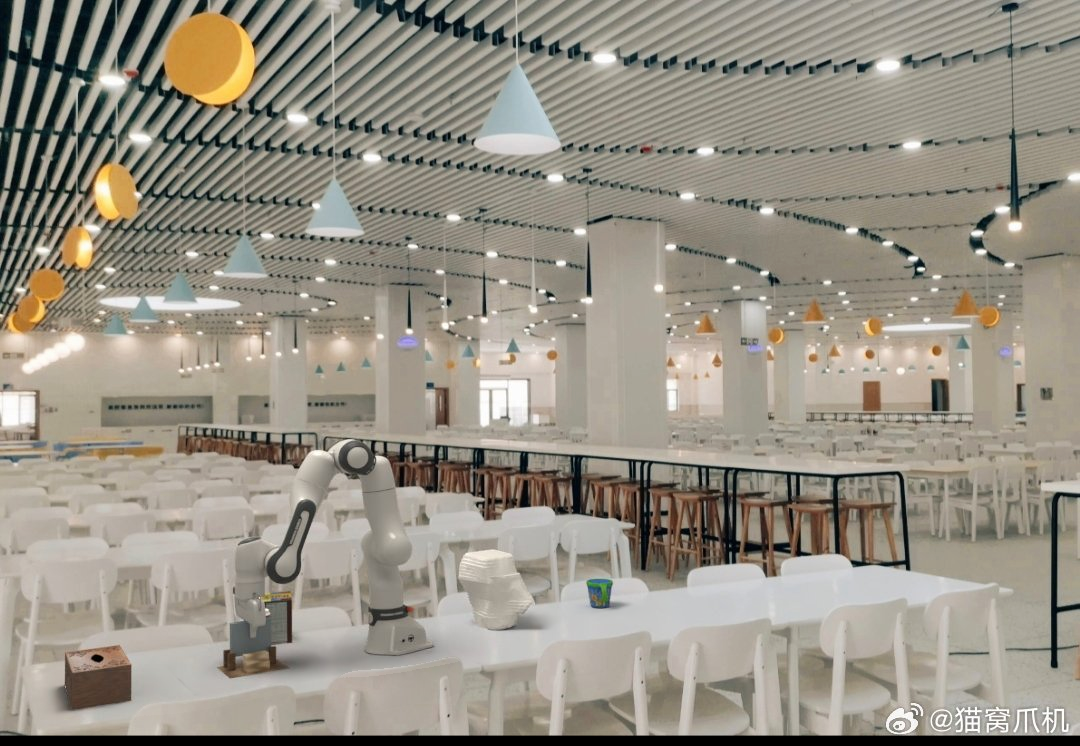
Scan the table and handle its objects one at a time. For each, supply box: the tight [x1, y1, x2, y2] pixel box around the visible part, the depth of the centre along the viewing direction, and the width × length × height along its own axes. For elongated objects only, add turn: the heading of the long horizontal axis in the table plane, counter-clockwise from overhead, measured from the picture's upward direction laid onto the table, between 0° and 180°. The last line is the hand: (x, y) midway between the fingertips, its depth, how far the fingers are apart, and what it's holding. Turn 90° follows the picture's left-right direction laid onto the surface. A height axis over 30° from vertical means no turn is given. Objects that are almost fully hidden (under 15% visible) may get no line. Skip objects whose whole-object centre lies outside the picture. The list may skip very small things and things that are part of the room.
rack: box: [216, 645, 291, 679], centre depth 275 cm, size 18×15×6 cm
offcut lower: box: [244, 661, 270, 673], centre depth 272 cm, size 7×3×2 cm, turn 124°
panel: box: [229, 617, 272, 658], centre depth 278 cm, size 12×2×10 cm, turn 124°
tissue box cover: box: [64, 644, 133, 711], centre depth 254 cm, size 26×14×10 cm, turn 32°
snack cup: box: [585, 578, 614, 609], centre depth 358 cm, size 16×10×10 cm
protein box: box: [261, 590, 293, 646], centre depth 311 cm, size 10×15×16 cm
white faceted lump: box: [457, 548, 533, 631], centre depth 328 cm, size 21×27×26 cm
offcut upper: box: [241, 651, 269, 665], centre depth 272 cm, size 7×3×2 cm, turn 129°
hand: (250, 635), depth 278 cm, fingers closed on panel, 2 cm apart
